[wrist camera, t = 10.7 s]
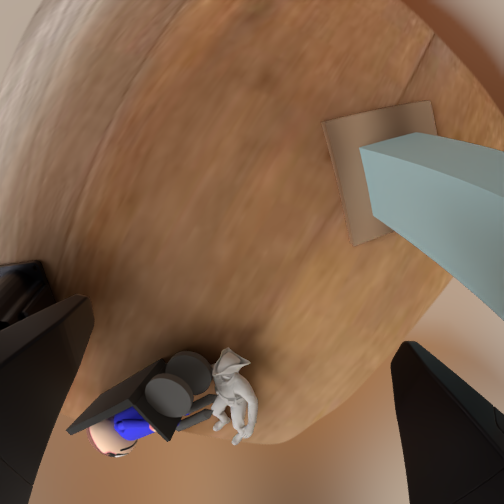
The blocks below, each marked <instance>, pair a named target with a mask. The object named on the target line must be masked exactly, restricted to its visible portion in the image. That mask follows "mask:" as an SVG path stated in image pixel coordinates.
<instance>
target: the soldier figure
mask: <svg viewBox="0 0 504 504" xmlns="http://www.w3.org/2000/svg"><path fill="white" fill-rule="evenodd" d="M248 364H250V361H248V360H246V359H244V358H242V357H240V356H239V355H237V354H236V353H234V352H233V351H232V350H231V349H230V348H229V347H227V348H226V349H224V350H222V352H221V356H220V358H219V360H218V361H217V362H216V363H215V364H213V365H211V368H212V372H213V373H212V375H213V380H214V381H215V391H216V393H217V394H218V396H217V398H216V400H215V401H214V403H213V405H212V407H211V410H214V411H213V415H214V416H216V417H217V418H219V419H220V421H218V422H217V423H215V425H214V426H213V430H214V431H218V430H220V429H221V428H222V427H223V426H224V425H225V424H227V423H229V422H230V418H229V417H228V416H227V415H226V413H225V412H224V410H225V407H226V406H227V405H229V406H230V407H231V418H232V423H233V427H234V428H235V429H236V430H237V431H238V433H237V434H236V435H235V436H234V437H233V440H232V444H234V445H237V444H238V443H240V441H241V439H242V438H243V437H244V436H245V435H246V436H245V437H244V439H245V438H248V437H250V436H251V435H252V433H253V430H254V426H255V423H256V419H257V412H258V399H257V397H256V396H255V393H254V391H253V389H252V387H251V385H250V384H249V382H248V381H247V380H246V379H245V378H244V377H243V376H242V375H240V374H239V373H238V372H239V371H240V369H241V368H242V367H243V366H245V365H248ZM247 402H248V421H249V422H248V425H246V426H245V425H244V418H245V413H246V406H247Z"/></svg>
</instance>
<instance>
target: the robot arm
mask: <svg viewBox="0 0 504 504" xmlns="http://www.w3.org/2000/svg"><path fill="white" fill-rule="evenodd" d="M35 266H36V267H37V269H36V268H35ZM93 327H94V315H93V309H92V303H91V299H90V298H89V297H88V296H85V295H81V294H75V295H73V296H70V297H68V298H66V299H64V300H62V301H60V302H58V303H55V300H54V297H53V295H52V292H51V290H50V287H49V285H48V282H47V279H46V276H45V273H44V270H43V267H42V265H41V263H40V262H39V261H37V260H34V261H27V262H20V263H14V264H8V265H1V266H0V504H28V502H29V498H30V495H31V491H32V488H33V486H32V485H33V484H34V481H35V478H36V475H37V472H38V469H39V466H40V463H41V460H42V457H43V454H44V451H45V449H46V446H47V443H48V441H49V438H50V435H51V433H52V430H53V428H54V425H55V423H56V420H57V418H58V415H59V413H60V410H61V408H62V406H63V403H64V401H65V399H66V396H67V394H68V392H69V389H70V387H71V385H72V383H73V381H74V378H75V376H76V374H77V372H78V369H79V366H80V364H81V361H82V358H83V355H84V352H85V349H86V346H87V344H88V341H89V338H90V335H91V333H92V330H93ZM391 375H392V382H393V392H394V402H395V410H396V415H397V421H398V426H399V432H400V437H401V443H402V449H403V455H404V462H405V468H406V475H407V483H408V492H409V501H410V504H504V414H503V413H501V412H500V411H499V410H498V409H497V408H496V407H493V405H492V404H491V403H490V402H489V401H487V400H486V399H485V398H484V397H483V396H482V395H480V394H479V393H478V392H477V391H475V390H474V389H473V388H472V387H471V386H469V385H468V384H467V383H466V382H465V381H464V380H462V379H461V378H460V377H459V376H458V375H456V374H455V373H454V372H453V371H452V370H450V369H449V368H448V367H447V366H446V365H444V364H443V363H442V362H441V361H439V360H438V359H437V358H436V357H435V356H433V355H432V354H431V353H430V352H428V351H427V350H426V349H425V348H423V347H422V346H421V345H420V344H418V343H417V342H415V341H404V342H403V343H402V344H401V345H400V347H399V349H398V351H397V352H396V354H395V356H394V357H393V359H392V362H391Z"/></svg>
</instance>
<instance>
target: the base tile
mask: <svg viewBox="0 0 504 504" xmlns="http://www.w3.org/2000/svg"><path fill="white" fill-rule="evenodd" d="M321 125H322V128H323V132H324V135H325V139H326V142H327V146H328V150H329V153H330V157H331V161H332V165H333V169H334V173H335V177H336V181H337V185H338V189H339V194H340V198H341V202H342V207H343V211H344V216H345V221H346V226H347V231H348V236H349V241H350V243H351V244H352V245H353V246H357V245H360V244H362V243H365V242H368V241H370V240H373V239H375V238H378V237H381V236H383V235H386V234H388V233H391V232H394V230H393V229H391V228H390V227H389V226H387V225H386V224H384V223H383V222H381V221H380V220H379V219H377V218H376V217H374V216H373V213H372V207H371V202H370V196H369V191H368V186H367V181H366V176H365V172H364V167H363V163H362V158H361V154H360V150H359V147H363V146H366V145H370V144H374V143H377V142H381V141H384V140H388V139H392V138H396V137H400V136H404V135H407V134H411V133H415V132H418V133H424V134H430V135H435V136H437V131H436V125H435V120H434V115H433V110H432V106H431V101H430V100H424V101H418V102H412V103H406V104H400V105H395V106H389V107H384V108H379V109H374V110H370V111H365V112H360V113H356V114H352V115H347V116H343V117H339V118H335V119H331V120H327V121H323V122H321Z"/></svg>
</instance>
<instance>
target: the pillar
mask: <svg viewBox="0 0 504 504" xmlns="http://www.w3.org/2000/svg"><path fill="white" fill-rule="evenodd" d="M359 150H360V154H361V158H362V163H363V167H364V172H365V176H366V181H367V186H368V191H369V196H370V202H371V207H372V213H373V216H374V217H376V218H377V219H379V220H380V221H381V222H383V223H384V224H386V225H387V226H389V227H390V228H391V229H393V230H394V231H395V232H397V233H398V234H400V235H401V236H402V237H404V238H405V239H406V240H408V241H409V242H410V243H412V244H413V245H414V246H416V247H417V248H418V249H420V250H421V251H422V252H424V253H425V254H426V255H427V256H429V257H430V258H431V259H433V260H434V261H435V262H436V263H438V264H439V265H440V266H441V267H443V268H444V269H445V270H446V271H447V272H449V273H450V274H451V275H452V276H454V277H455V278H456V279H457V280H458V281H460V282H461V283H462V284H463V285H464V286H465V287H467V288H468V289H469V290H470V291H471V292H472V293H474V294H475V295H476V296H477V297H478V298H479V299H480V300H482V301H483V302H484V303H485V304H486V305H487V306H488V307H489V308H491V309H492V310H493V311H494V312H495V313H496V314H497V315H498V316H499V317H500V318H501V319H502V320H503V321H504V152H503V151H500V150H496V149H492V148H489V147H485V146H481V145H477V144H473V143H468V142H464V141H460V140H455V139H450V138H445V137H440V136H435V135H430V134H424V133H418V132H415V133H411V134H407V135H404V136H400V137H396V138H392V139H388V140H384V141H381V142H377V143H374V144H370V145H366V146H363V147H359Z"/></svg>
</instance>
